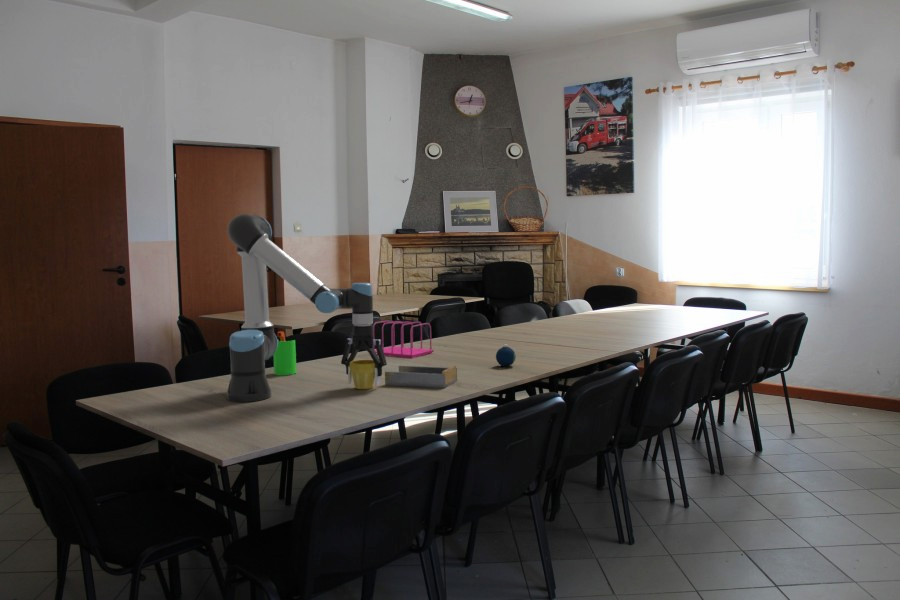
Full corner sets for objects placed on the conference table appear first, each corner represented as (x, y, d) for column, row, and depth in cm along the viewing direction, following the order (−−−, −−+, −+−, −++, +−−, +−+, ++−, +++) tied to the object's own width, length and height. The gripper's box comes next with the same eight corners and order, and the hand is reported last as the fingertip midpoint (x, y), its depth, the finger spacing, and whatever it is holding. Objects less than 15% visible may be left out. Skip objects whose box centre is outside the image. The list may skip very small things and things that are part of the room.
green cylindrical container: (298, 372, 299) (296, 329, 297) (292, 375, 291) (290, 332, 289) (277, 372, 299) (275, 330, 298) (270, 375, 291) (269, 332, 290)
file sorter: (393, 349, 357) (392, 318, 355) (433, 353, 342) (433, 321, 341) (371, 354, 342) (370, 322, 341) (412, 358, 328) (411, 325, 327)
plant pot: (383, 385, 265) (382, 360, 264) (369, 391, 256) (368, 364, 255) (359, 384, 269) (359, 358, 269) (344, 389, 260) (344, 362, 259)
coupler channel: (444, 388, 259) (444, 372, 259) (385, 384, 268) (384, 369, 267) (457, 380, 273) (456, 365, 272) (400, 378, 281) (399, 363, 280)
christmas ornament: (510, 368, 296) (509, 345, 296) (492, 367, 301) (492, 343, 300) (519, 365, 303) (518, 342, 303) (501, 364, 308) (501, 341, 307)
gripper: (395, 324, 260) (396, 383, 262) (340, 322, 268) (341, 380, 270) (386, 326, 253) (388, 387, 255) (330, 325, 261) (332, 384, 263)
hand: (364, 384), depth 263 cm, fingers closed on plant pot, 10 cm apart
